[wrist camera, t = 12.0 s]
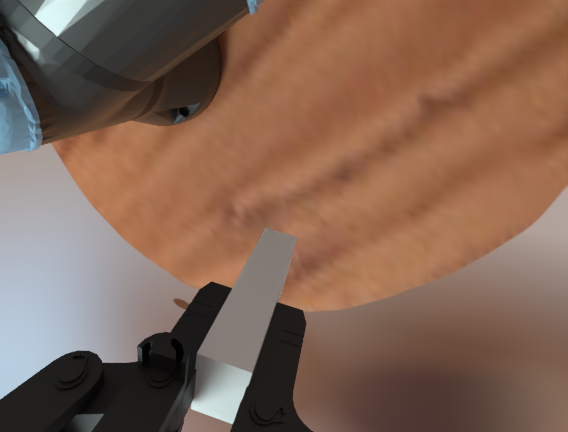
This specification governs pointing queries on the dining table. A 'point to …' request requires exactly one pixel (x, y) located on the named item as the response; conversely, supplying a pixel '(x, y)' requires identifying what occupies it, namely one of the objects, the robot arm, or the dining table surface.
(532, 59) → the dining table surface
